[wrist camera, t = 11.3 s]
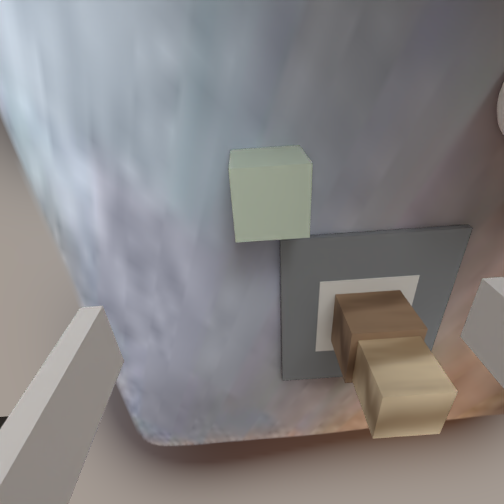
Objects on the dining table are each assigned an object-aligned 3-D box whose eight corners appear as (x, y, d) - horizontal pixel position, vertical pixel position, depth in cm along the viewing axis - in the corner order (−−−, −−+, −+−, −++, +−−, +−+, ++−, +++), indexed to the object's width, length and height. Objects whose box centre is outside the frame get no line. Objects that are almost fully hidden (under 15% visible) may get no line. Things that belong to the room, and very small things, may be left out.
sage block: (230, 149, 23) (228, 169, 19) (298, 144, 23) (312, 163, 19) (236, 212, 25) (235, 242, 21) (297, 208, 25) (309, 237, 21)
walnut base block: (335, 294, 29) (351, 334, 25) (400, 289, 29) (427, 328, 25) (330, 340, 32) (344, 382, 28) (389, 336, 32) (412, 378, 28)
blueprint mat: (279, 237, 27) (280, 241, 26) (468, 224, 27) (473, 228, 26) (282, 376, 36) (282, 381, 35) (421, 366, 36) (424, 371, 35)
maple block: (358, 340, 25) (382, 397, 21) (420, 336, 25) (457, 391, 21) (352, 380, 28) (372, 438, 23) (408, 376, 28) (439, 433, 23)
